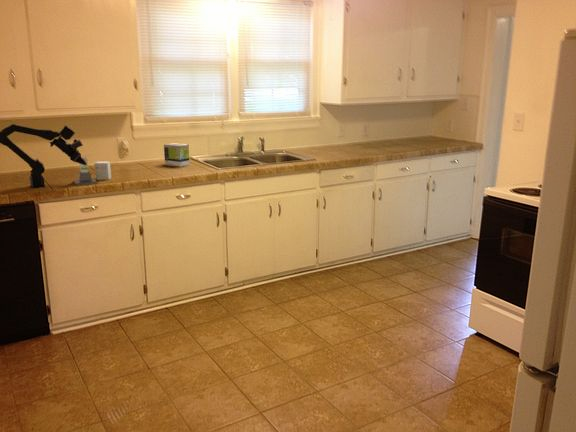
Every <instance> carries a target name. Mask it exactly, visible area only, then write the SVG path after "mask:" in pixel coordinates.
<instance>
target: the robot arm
mask: <svg viewBox="0 0 576 432" xmlns="http://www.w3.org/2000/svg"><path fill="white" fill-rule="evenodd" d="M15 132H16V133H20V134H21V133H22V134H25V135H26V134H27V135H31V136H36V137H38V138H41V139H45V140H46V141H49V144H50V145H49V146H50V147H51V148H52V147H53V146H55V147H56V148H57V149H59V150H60V151H61V152H62V153H63V154H65V155H66V156H67V157H68V158H69V159H70V161H72V162H74V163H78V164H79V165H80V164H83V165H87V164H88V162H87V163H86V162H85V161H84V160H83V159H82V158H81V157H82V154H81V152H79V151H80V150H78V149H79V148H80V147H82V146H84V144H83V143H82V142H81V140H80V139H73V142H71V143H69V142H67V140H71V139H72V138H73V136H75V134H76V132H75V131H74V130H73V129H72V128H70V127H68V126H67V125H64V126H63V127H62V129H61V130H60V131H59V130H58V131H54V130H53V129H48V128H34V127H30V126H24V125H21V124H20V125H19V124H16V123H11V124H10V125H8V126H7V127H4V128H3V129H0V144H1V145H3V146H5V147H6V148H8V149H10V151H12V153H14V154H16V155H17V156H18V157H20V159H22V160H23V161H24V162H25V163H27V164H28V166H29V168H31V170H30V171H29V174H30V176H29V181H30V182H29V183H30V185H29V187H31V188H34V189H36V188H37V189H38V188H42V187H46V185H45V178H44V176H43V174H44V172H45V170H46V169H45V166H44V163H43V162H42V161H40V159H39V158H36V159H35V158H32V157H31V156H30V155H29V154H28V153H26V152H25V151H24V150H23V149H22V148H20V146H18V145H17V144H16V143H15V142H13V141H12V139H10V137H9V136H10V135H12V134H13V133H15Z"/></svg>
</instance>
